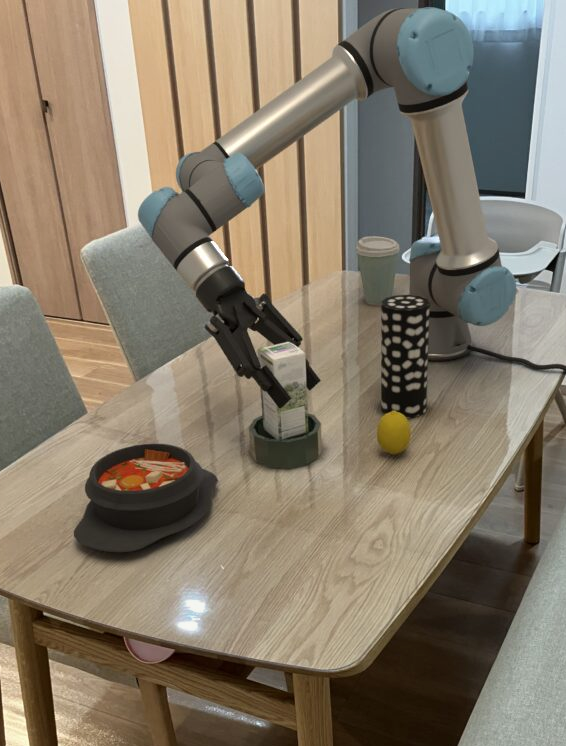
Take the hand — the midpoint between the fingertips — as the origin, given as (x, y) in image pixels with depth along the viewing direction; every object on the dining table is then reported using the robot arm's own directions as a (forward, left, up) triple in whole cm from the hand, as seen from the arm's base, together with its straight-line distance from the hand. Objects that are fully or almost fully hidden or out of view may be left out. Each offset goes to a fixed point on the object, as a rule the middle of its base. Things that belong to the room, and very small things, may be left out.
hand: (300, 394), depth 132 cm
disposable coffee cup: (-3, -81, -12) cm, 82 cm away
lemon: (-15, -2, -12) cm, 19 cm away
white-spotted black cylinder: (-15, -20, -12) cm, 28 cm away
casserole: (+19, +21, -12) cm, 30 cm away
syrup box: (+3, -1, -8) cm, 8 cm away
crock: (+3, -1, -11) cm, 12 cm away
